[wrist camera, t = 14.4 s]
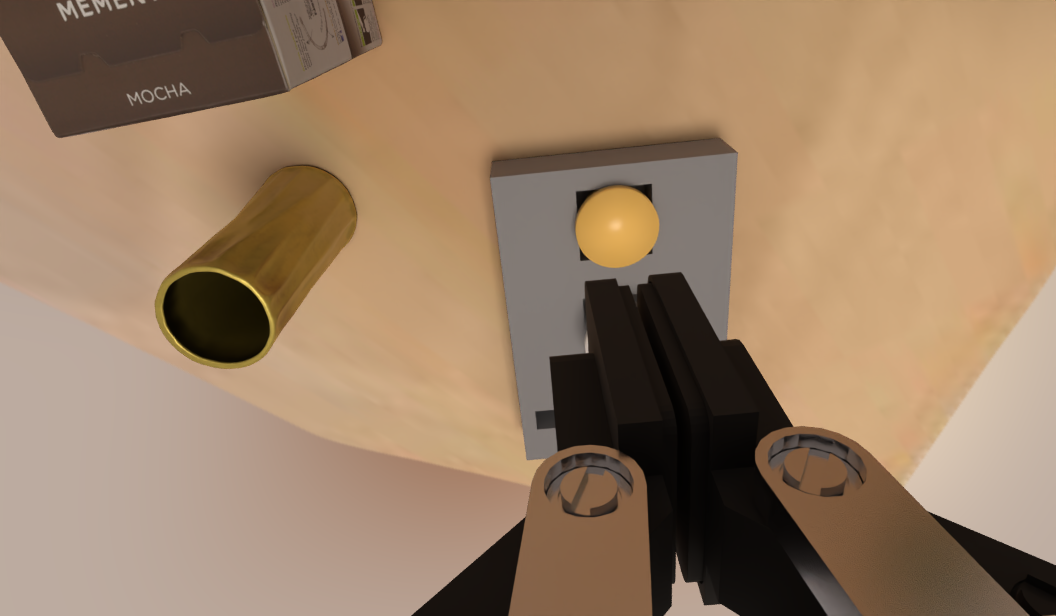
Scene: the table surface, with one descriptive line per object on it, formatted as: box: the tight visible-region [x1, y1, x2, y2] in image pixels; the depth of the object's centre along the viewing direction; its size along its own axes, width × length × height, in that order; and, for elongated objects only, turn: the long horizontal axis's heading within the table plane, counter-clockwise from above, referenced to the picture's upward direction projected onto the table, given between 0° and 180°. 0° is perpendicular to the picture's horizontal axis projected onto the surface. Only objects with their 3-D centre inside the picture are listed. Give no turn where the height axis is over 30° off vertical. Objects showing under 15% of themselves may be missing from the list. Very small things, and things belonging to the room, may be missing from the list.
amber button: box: [575, 185, 659, 268], centre depth 38 cm, size 5×5×3 cm
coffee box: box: [0, 0, 382, 138], centre depth 27 cm, size 9×6×16 cm
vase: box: [155, 166, 357, 369], centre depth 34 cm, size 6×6×14 cm
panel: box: [490, 138, 738, 460], centre depth 42 cm, size 14×21×4 cm, turn 6°
